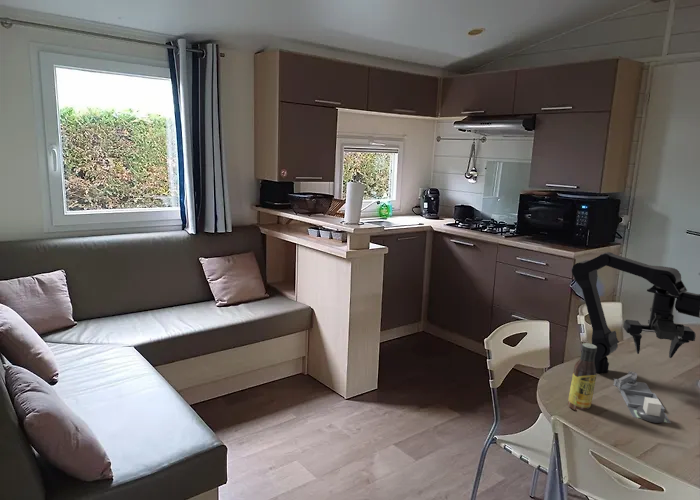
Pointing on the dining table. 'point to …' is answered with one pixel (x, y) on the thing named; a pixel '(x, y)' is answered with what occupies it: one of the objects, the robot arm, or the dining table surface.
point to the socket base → (637, 397)
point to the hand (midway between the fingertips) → (653, 355)
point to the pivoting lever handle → (626, 379)
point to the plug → (651, 411)
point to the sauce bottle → (583, 379)
